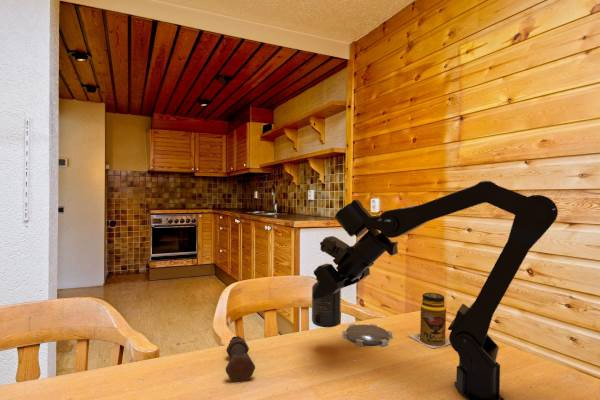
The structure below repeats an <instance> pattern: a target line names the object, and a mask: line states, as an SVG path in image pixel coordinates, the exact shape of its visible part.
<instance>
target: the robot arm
mask: <svg viewBox="0 0 600 400" xmlns="http://www.w3.org/2000/svg"><path fill="white" fill-rule="evenodd" d="M484 203H487V204H488V205H489V204H490V205H491V206H493V207H496V208H498V209H500V210H503V211H505V212H507V213H510V214H512V215H514V216H513V217H514V218H513V220H512V224H511V228H510V231H509V235H508V238H507V241H506V243H505V245H504V247H503V249H502V251H501V252H500V255H499V256H498V258H497V260H496V261H495V263H494V265H493V267H492V268H491V271H490V272H489V275H488V277H487V279H486V280H485V282H484V284H483V286H482V288H481V289H480V291H479V293H478V295H477V297H476V298H475V300H474V301H473V303H471V304H470V306H469V307H468V306H467V305H466V304H465V303H462V304H461V305H460V307H459V308H458V309H457V312H456V314H455V317H454V319H452V321H451V323H450V325H449V326H448V327H447V330H448V331H450V333H449V337H448V341H450V343H451V344H450V346H451V347H452V348H453V350H454V351H455V352H456V353H457V354H458V355H457V356H458V357H459V358H458V365H457V366H456V378H455V379H456V381H455V382H454V386H455V388H457V389H458V390H459V392H460V393H461V394H462V396H463V397H464V398H465V399H466V400H505V398H504V397H503V396H502V395H501V394H500V393H501V389H500V386H501V364H500V363H499V362H497V357H498V353H499V348H500V347H499V345H498V344H497V343H496V342H495V341H494V340H493V338H492V337H491V336H489V334H488V332H489V329H490V325H491V322H492V319H493V316H494V313H495V312H496V310H497V309H498V307H499V305H500V303H501V302H502V300H503V298H504V296H505V294H506V292H507V290H508V288H509V287H510V285H511V283H512V282H513V280H514V278H515V276H516V274H517V273H518V270H519V269H520V268H521V266H522V264H523V262H524V260H525V258H526V257H527V255H528V253H529V252H530V250H531V248H533V247H534V245H535V244H536V243H537V242H538V241H539V240H540V239H541V238H542V237H543V235H545V233H546V232H547V231H549V229H550V227H551V226H552V225H553V224H554V223H555V222H556V220H557V217H558V216H559V215H558V213H559V210H558V206H557V205H556V203H555V201H553V200H552V199H551V198H549V197H548V196H546V195H541V194H532V195H527V196H526V195H524V194H521V193H519V192H516V191H514V190H511V189H508V188H506V187H503V186H501V185H498V184H497V183H495V182H493V181H491V180H482V181H479V182H478V183H476V184H474V185H472V186H469V187H466V188H463V189H460V190H457V191H455V192H452V193H449V194H447V195H444V196H441V197H438V198H435V199H433V200H430V201H427V202H425V203H424V202H423V203H421V204H418V205H412V206H406V207H399V208H395V209H389V210H388V209H387V210H385V211H383V212H381V214H380V215H379V214H378V215H372V214H370V213H369V211H368V210H367V209H366V208H365V207H364V205H363V203H362V202H361V201H360V200H359V199H353V200H352V201H351V202H349V203H348V204H346V205H345V206H343V207H342V208H340V209H339V210H338V211H337V212H336V213H335V215H334V219H335V220H336V222H337V223H338V224H339V225H340V226H341V227H342V229H343V230H344V231H345V232H346V234H348V236H349V237H354V236H355V237H356V238H359V237H360V239H358V240H357V241H356V242H355V243H354V244H353V245H349V244H348V243H346V242H344V241H343V240H341V239H340V238H338V237H336V236H334V235H333V236H332V235H330V236H326V237H324V238H323V240H322V241H320V242H319V244H320V248H319V249H320V251H321V252H323V253H325V254H327V255H329V256H330V257H332V258H333V260H332V262H333V263H334V265H337V266H336V267H335V266H334V265H333V264H332V263H323V264H320V265H318V266H317V268H316V269H314V271H313V275H314V276H315V278H316V277H317V279H318V280H319V283H318V285H317V287H316V289H315V291H314V293H313V295H312V294H311V297H312V296H313V298H314V299H318V298H321V297H324V296H328V295H332V294H334V293H337V292H339V291H340V289H341V290H342V289H345V288H346V287H349V286H352V285H354V284H357V283H359V282H360V281H363V280H365V279H366V278H367V277H368V276H369V275H370V272H371V271H370V270H371V269H370V268H371V267H372V266H373V265H375V262H376V261H377V260H378V259H379V258H380V257H381V256H382V255H384V253H385V252H387V253H388V255H389V256H392V257H393V256H395V255H397V254H399V251H398V244H399V243H398V241H392V240H391V239H394V238H399V237H402V236H404V235H407V234H409V233H411V232H412V231H414V230H416V229H418V228H420V227H422V226H423V225H425V224H426V223H428V222H430V221H433V220H436V219H439V218H443V217H445V216H446V217H447V216H448V215H452V214H454V213H457V212H461V211H464V210H467V209H469V208H472V207H473V208H474V207H476V206H478V205H482V204H484Z"/></svg>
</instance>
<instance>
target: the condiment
mask: <svg viewBox="0 0 600 400" xmlns="http://www.w3.org/2000/svg"><path fill="white" fill-rule="evenodd" d="M421 296H422V300H421V302H422V303H421V305H420V324H419V325H420V328H419V329H420V330H419V331H420V332H419V333H416V334H412V335H408V337H410V338H411V339H413V340H415V341H418V342H419V343H420V344H422V345H424V346H427V347H429V348H430V349H435V348H441V347H445V346H448V345H451V343H450V341H449V339H448V340H447V339H446V338H447V337H446V331H447V329H446V327H447V324H446V322H447V309H446V306H445V296H444V295H442V294H441V293H436V292H424V293H423V294H422V295H421ZM419 337H420V339H419Z"/></svg>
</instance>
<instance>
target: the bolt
mask: <svg viewBox="0 0 600 400" xmlns="http://www.w3.org/2000/svg"><path fill="white" fill-rule="evenodd" d="M249 349H250V348H249V345H248V343H247V342H246V340H245V339H244V338H242V336H241V337H240V336H232V338H231V339H230V340H229V343H228V345H227V347H226V348H225V350H226V353H227V355H228V357H229V361H228V363H227V365H226V367H225V372H226V374H227V376H228V378H229V379H230V380H231V382H232V383H237V384H238V383H244V382H248V381H250V379H251V377H252V376H253V374H254V372H255V369H256V365H255V364H254V362H253V360H252V358H251V357H250V355H249Z"/></svg>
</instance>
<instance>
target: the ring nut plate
mask: <svg viewBox="0 0 600 400" xmlns="http://www.w3.org/2000/svg"><path fill="white" fill-rule="evenodd" d="M342 338H343V339H347V340H348V341H350V342H353V343H354V344H355V345H356V346H357V347H358V346H359V347H364V346H380V347H385V346H388V345H389V344H388V343H389V340H390V339H393V333H392V331H391V330H386V329H384V328H383V327H380V326H378V324H373V323H370V324H355V323H352V324H349V325H348V327H347V328H346V330H342Z"/></svg>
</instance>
